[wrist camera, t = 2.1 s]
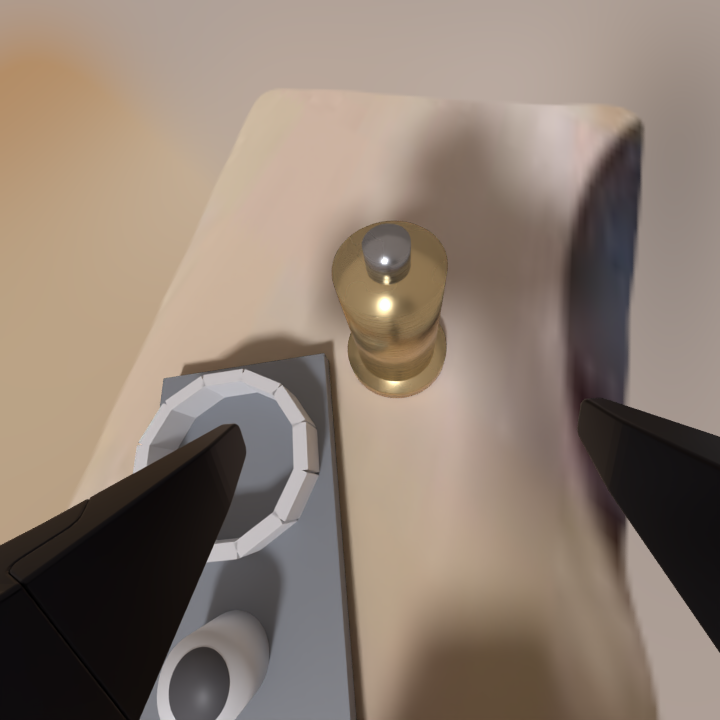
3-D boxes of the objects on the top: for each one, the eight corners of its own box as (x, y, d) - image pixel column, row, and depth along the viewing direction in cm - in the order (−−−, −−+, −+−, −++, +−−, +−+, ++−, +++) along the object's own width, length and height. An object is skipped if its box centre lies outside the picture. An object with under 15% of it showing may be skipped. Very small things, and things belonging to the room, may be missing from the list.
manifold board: (363, 806, 16) (346, 920, 12) (128, 815, 17) (35, 922, 13) (328, 361, 25) (311, 333, 20) (176, 384, 26) (131, 363, 21)
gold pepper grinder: (465, 351, 23) (510, 235, 13) (396, 418, 22) (383, 350, 12) (397, 295, 26) (387, 159, 15) (331, 353, 25) (274, 249, 14)
